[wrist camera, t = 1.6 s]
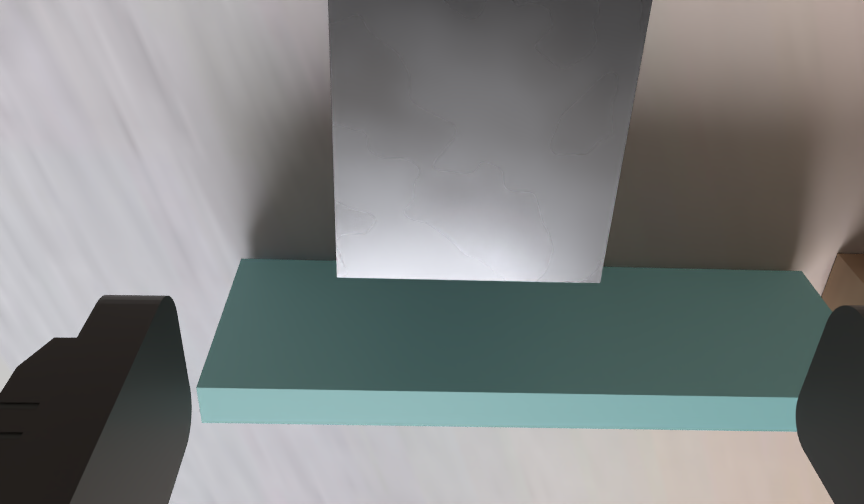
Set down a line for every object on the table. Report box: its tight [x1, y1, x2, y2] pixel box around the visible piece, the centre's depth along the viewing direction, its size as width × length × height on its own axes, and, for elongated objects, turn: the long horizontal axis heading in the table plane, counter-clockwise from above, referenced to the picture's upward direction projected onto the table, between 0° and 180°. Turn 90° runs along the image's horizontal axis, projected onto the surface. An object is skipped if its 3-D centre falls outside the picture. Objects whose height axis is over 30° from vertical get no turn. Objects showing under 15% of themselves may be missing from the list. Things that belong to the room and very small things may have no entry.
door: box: [196, 259, 832, 432], centre depth 23 cm, size 18×1×6 cm, turn 88°
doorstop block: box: [328, 0, 652, 283], centre depth 18 cm, size 6×6×8 cm
